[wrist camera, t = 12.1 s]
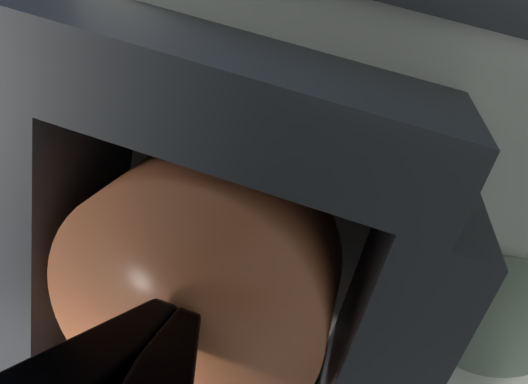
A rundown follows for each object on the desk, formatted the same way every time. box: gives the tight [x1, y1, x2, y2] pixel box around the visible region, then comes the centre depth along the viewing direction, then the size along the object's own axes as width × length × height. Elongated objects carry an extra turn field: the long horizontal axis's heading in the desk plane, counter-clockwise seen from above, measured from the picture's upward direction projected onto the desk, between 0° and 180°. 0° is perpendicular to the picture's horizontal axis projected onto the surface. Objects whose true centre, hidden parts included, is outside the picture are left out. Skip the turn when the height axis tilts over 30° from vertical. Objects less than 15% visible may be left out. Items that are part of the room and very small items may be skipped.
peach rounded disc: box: [47, 156, 343, 384], centre depth 9 cm, size 5×5×2 cm
